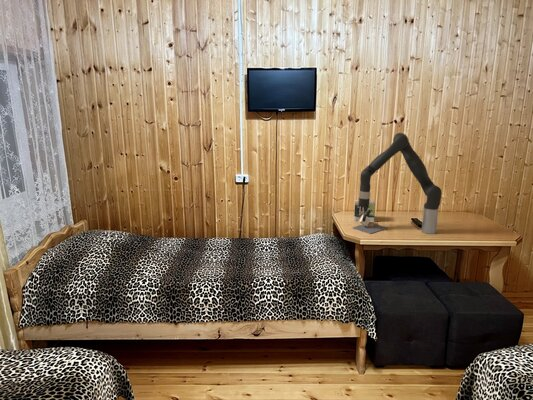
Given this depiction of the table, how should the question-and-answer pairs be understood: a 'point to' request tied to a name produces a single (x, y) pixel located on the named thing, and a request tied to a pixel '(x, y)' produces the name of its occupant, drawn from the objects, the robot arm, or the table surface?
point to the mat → (370, 228)
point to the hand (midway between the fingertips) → (362, 220)
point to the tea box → (371, 215)
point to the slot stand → (372, 223)
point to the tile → (364, 221)
